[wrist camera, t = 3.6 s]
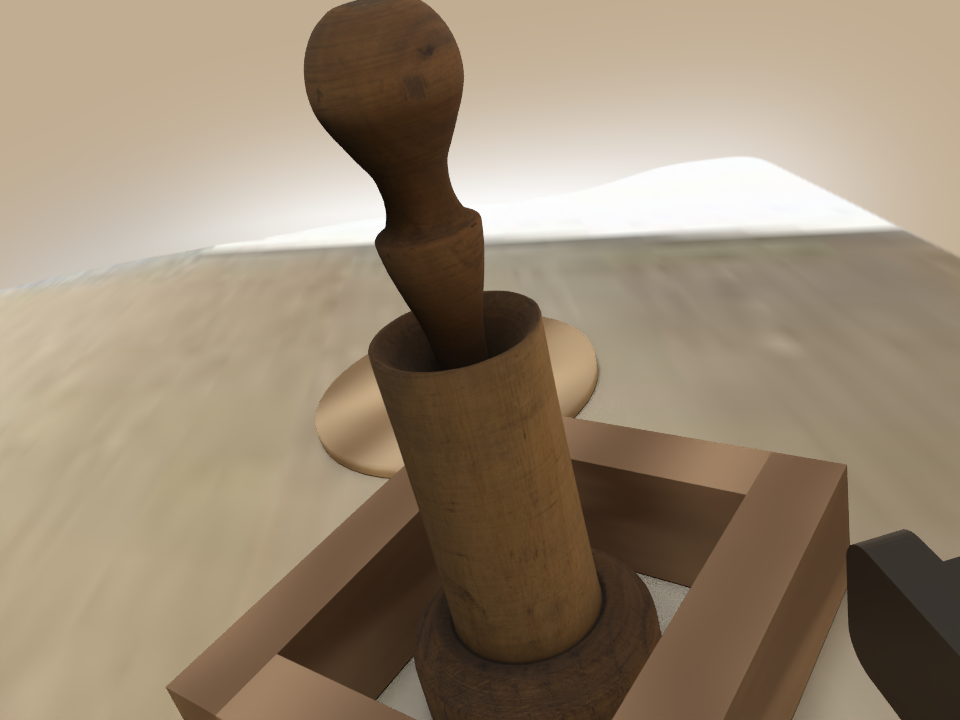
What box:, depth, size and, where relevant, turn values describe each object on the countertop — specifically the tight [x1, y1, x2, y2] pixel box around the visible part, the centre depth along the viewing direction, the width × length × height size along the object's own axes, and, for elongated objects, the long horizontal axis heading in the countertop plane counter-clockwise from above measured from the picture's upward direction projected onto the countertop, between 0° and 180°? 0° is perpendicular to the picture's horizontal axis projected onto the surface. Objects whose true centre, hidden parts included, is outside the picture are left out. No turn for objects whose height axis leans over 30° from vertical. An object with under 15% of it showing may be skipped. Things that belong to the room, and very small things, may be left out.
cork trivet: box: [315, 317, 598, 478], centre depth 39 cm, size 13×13×1 cm
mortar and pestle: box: [304, 0, 662, 720], centre depth 20 cm, size 7×6×18 cm
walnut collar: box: [166, 416, 850, 720], centre depth 23 cm, size 12×14×4 cm
